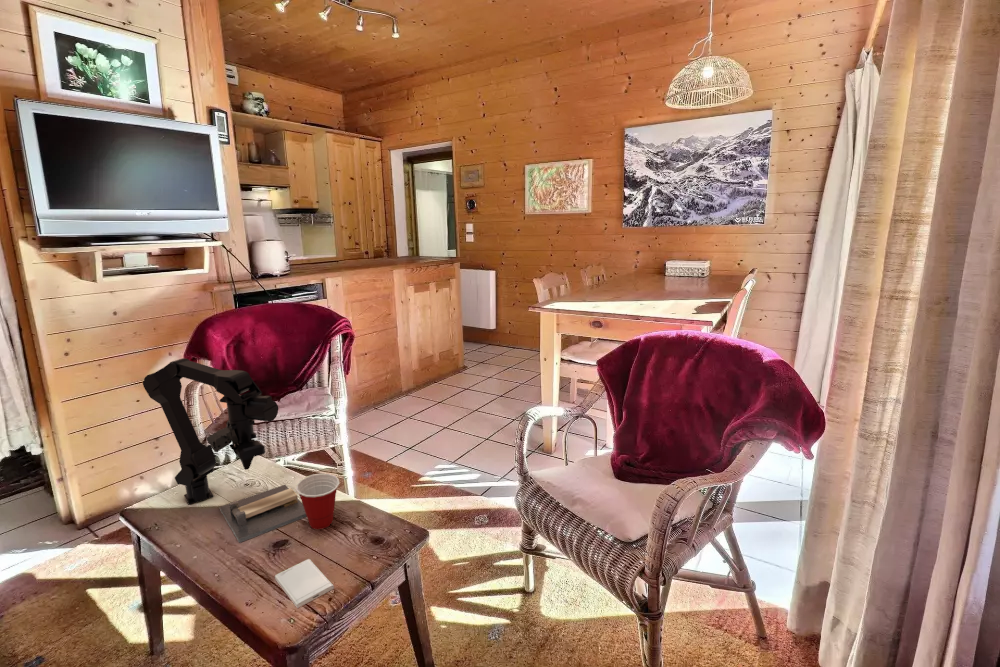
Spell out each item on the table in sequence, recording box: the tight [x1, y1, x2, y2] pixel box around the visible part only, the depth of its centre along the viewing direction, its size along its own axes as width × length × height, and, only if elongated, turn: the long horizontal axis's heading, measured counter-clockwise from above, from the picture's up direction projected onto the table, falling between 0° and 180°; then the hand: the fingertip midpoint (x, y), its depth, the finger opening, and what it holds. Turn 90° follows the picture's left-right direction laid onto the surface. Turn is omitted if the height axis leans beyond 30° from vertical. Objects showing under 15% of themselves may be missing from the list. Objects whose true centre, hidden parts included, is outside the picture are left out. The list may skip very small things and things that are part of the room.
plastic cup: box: [295, 472, 340, 530], centre depth 133 cm, size 11×11×12 cm
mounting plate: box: [219, 484, 307, 544], centre depth 139 cm, size 20×18×4 cm
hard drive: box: [274, 558, 335, 609], centre depth 112 cm, size 2×8×12 cm
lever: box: [232, 487, 299, 520], centre depth 140 cm, size 5×16×2 cm, turn 131°
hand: (246, 468), depth 142 cm, fingers closed
